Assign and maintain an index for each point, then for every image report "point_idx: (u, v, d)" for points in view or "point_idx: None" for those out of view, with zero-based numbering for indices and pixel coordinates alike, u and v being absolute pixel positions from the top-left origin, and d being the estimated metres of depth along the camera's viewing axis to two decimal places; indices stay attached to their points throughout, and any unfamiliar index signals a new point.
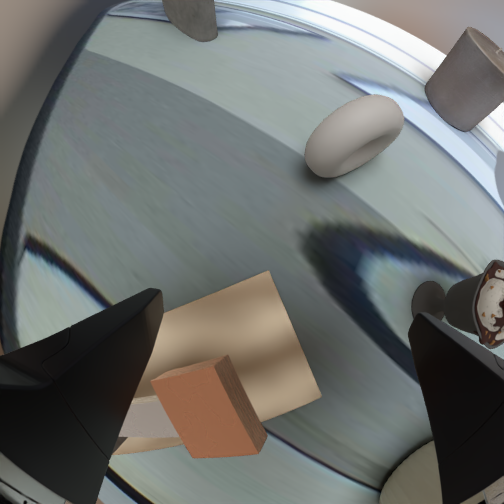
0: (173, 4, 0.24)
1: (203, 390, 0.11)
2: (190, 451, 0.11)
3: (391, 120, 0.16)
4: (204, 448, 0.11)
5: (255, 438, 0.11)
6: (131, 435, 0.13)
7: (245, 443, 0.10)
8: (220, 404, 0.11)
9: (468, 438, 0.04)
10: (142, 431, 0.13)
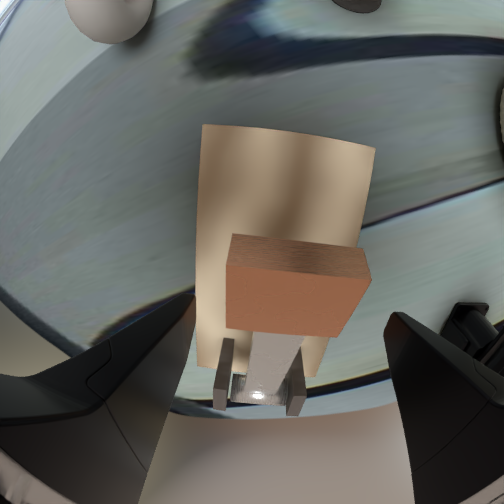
0: None
1: (254, 289, 0.10)
2: (327, 335, 0.11)
3: None
4: (330, 322, 0.11)
5: (351, 269, 0.09)
6: (287, 367, 0.15)
7: (348, 285, 0.09)
8: (280, 282, 0.09)
9: (442, 448, 0.04)
10: (285, 357, 0.14)
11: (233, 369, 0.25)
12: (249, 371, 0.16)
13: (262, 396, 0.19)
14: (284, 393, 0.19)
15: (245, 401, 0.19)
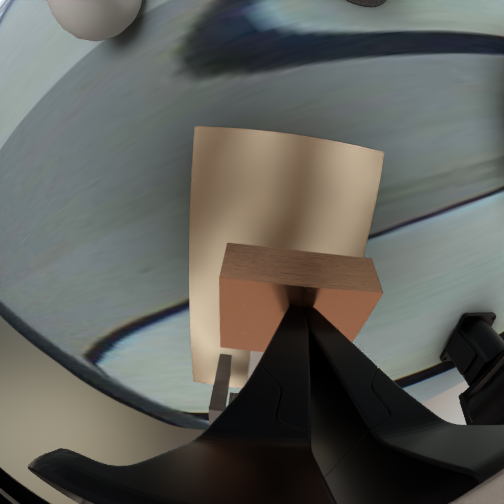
0: None
1: (251, 304, 0.08)
2: None
3: None
4: None
5: (360, 281, 0.08)
6: None
7: (357, 299, 0.08)
8: (281, 297, 0.08)
9: (330, 472, 0.04)
10: None
11: (231, 385, 0.24)
12: None
13: None
14: None
15: None
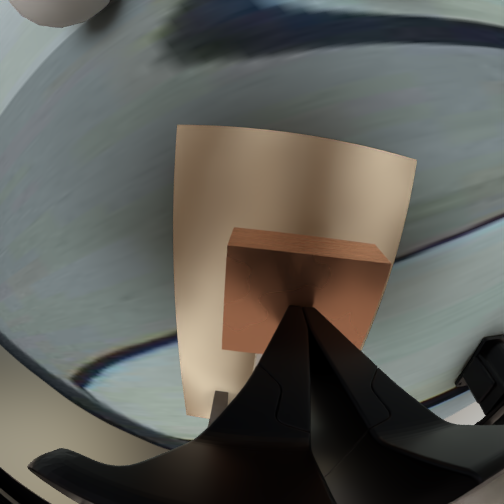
0: None
1: (259, 282, 0.08)
2: None
3: None
4: (348, 334, 0.09)
5: (367, 255, 0.08)
6: None
7: (367, 272, 0.08)
8: (290, 270, 0.08)
9: (330, 472, 0.04)
10: None
11: None
12: None
13: None
14: None
15: None
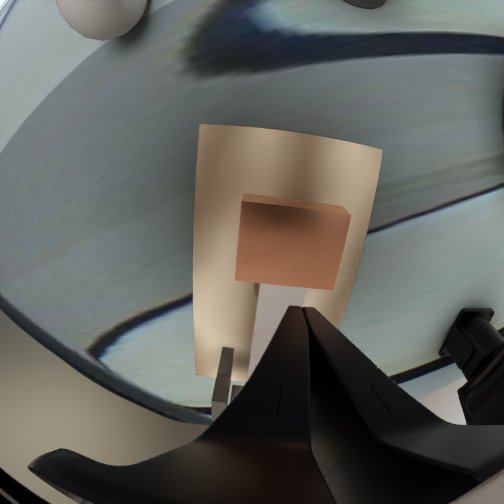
0: None
1: (261, 226, 0.12)
2: (324, 287, 0.13)
3: None
4: (325, 268, 0.13)
5: (334, 210, 0.12)
6: None
7: (334, 220, 0.12)
8: (282, 217, 0.12)
9: (330, 472, 0.04)
10: None
11: (232, 378, 0.24)
12: (251, 359, 0.16)
13: None
14: None
15: None
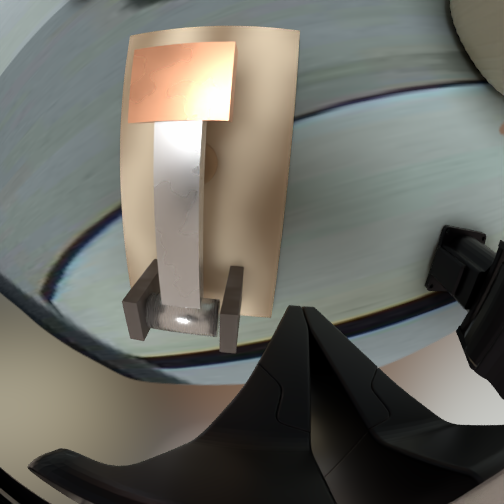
0: None
1: (150, 65, 0.10)
2: (217, 117, 0.11)
3: None
4: (215, 95, 0.11)
5: None
6: (196, 214, 0.14)
7: (218, 48, 0.10)
8: (168, 54, 0.10)
9: (330, 472, 0.04)
10: (189, 185, 0.13)
11: None
12: (157, 233, 0.14)
13: (184, 311, 0.16)
14: (212, 308, 0.16)
15: (164, 321, 0.16)
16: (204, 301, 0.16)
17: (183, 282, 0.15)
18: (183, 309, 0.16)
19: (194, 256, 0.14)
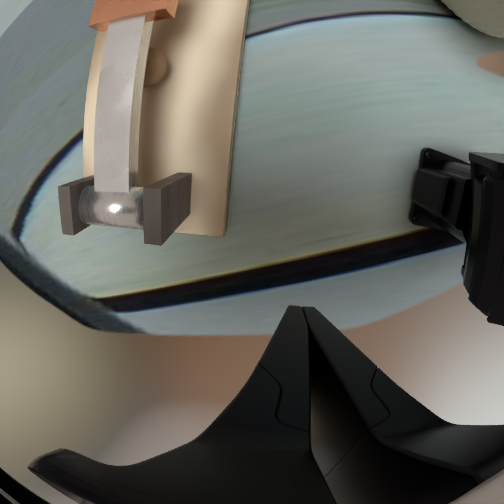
0: None
1: None
2: (156, 8, 0.09)
3: None
4: None
5: None
6: (131, 88, 0.11)
7: None
8: None
9: (330, 472, 0.04)
10: (128, 64, 0.11)
11: None
12: (97, 112, 0.12)
13: (113, 195, 0.14)
14: (141, 191, 0.14)
15: (93, 207, 0.13)
16: (136, 187, 0.14)
17: (114, 161, 0.13)
18: (112, 193, 0.14)
19: (126, 130, 0.12)
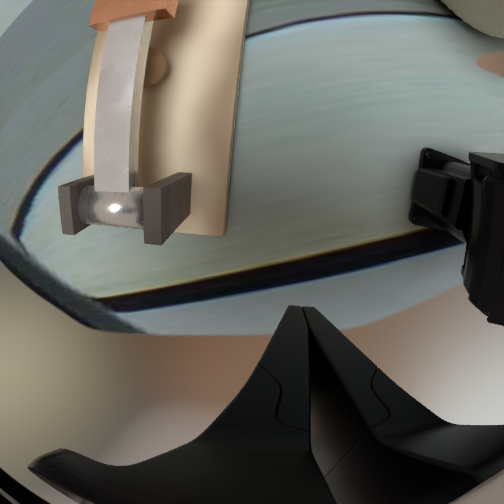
0: None
1: None
2: (157, 7, 0.09)
3: None
4: None
5: None
6: (131, 88, 0.11)
7: None
8: None
9: (330, 472, 0.04)
10: (128, 64, 0.11)
11: None
12: (97, 112, 0.12)
13: (113, 195, 0.14)
14: (141, 191, 0.14)
15: (93, 207, 0.13)
16: (136, 187, 0.14)
17: (114, 161, 0.13)
18: (112, 193, 0.14)
19: (126, 130, 0.12)
